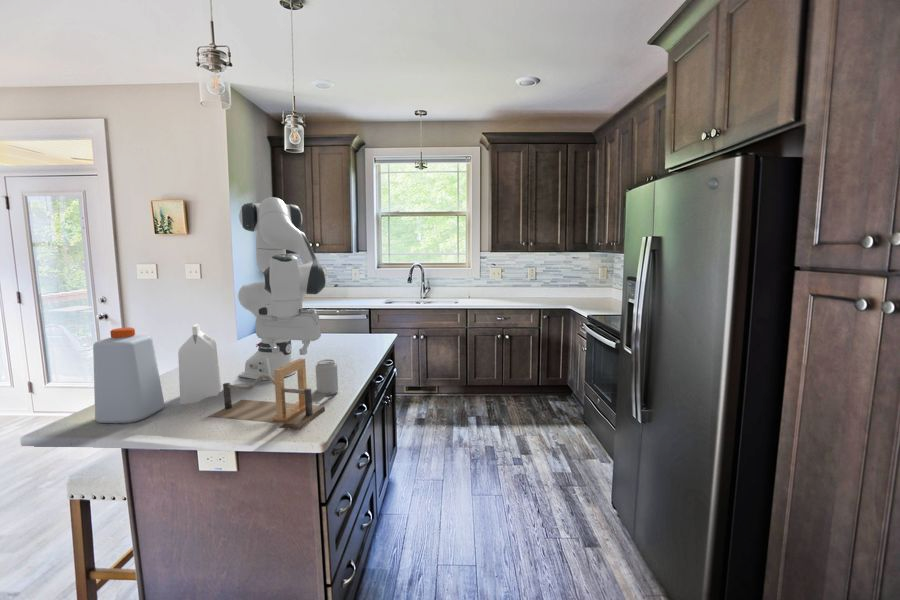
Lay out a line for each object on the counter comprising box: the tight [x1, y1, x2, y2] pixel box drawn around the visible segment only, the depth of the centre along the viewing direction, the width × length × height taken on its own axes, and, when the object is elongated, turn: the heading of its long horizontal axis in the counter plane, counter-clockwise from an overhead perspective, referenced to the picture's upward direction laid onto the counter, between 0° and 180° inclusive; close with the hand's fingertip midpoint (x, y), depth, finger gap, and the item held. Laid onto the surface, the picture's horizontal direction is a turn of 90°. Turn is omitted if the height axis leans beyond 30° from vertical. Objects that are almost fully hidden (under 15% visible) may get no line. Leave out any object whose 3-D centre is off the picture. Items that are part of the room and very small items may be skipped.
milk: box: [177, 323, 223, 405], centre depth 152 cm, size 12×12×26 cm
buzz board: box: [207, 375, 326, 430], centre depth 134 cm, size 31×15×13 cm, turn 77°
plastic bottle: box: [92, 327, 165, 424], centre depth 135 cm, size 15×15×28 cm
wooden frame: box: [272, 358, 308, 422], centre depth 132 cm, size 5×13×16 cm, turn 167°
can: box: [315, 358, 339, 397], centre depth 154 cm, size 8×8×12 cm
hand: (289, 353), depth 130 cm, fingers open, 8 cm apart
